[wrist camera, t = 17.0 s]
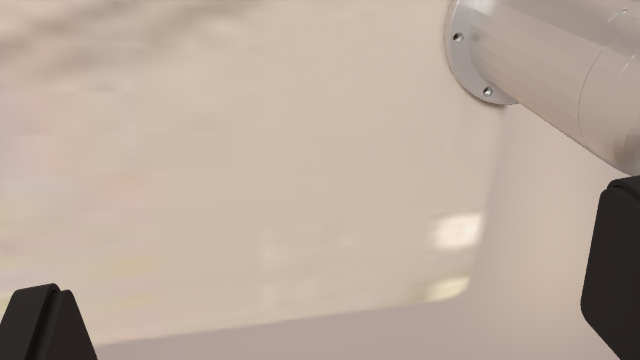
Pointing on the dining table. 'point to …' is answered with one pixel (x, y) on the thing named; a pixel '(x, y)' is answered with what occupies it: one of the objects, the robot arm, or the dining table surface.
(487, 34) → the robot arm
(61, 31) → the dining table surface
